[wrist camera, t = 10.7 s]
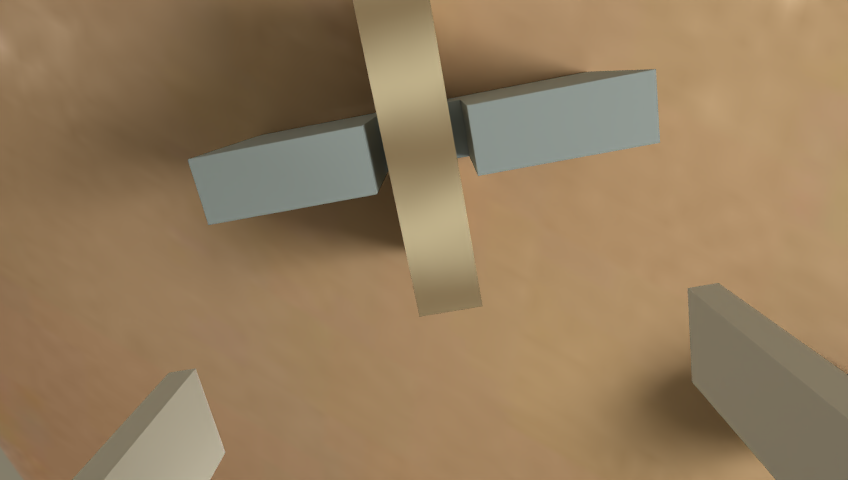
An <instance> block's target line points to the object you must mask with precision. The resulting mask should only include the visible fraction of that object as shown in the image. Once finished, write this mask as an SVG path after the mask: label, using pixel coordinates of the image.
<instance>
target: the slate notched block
mask: <svg viewBox="0 0 848 480" xmlns="http://www.w3.org/2000/svg"><path fill="white" fill-rule="evenodd" d="M447 103H448V109H449V115H450V121H451V126H452V132H453V138H454V144H455V150H456V155H457V158H461V157H467V156H470V159H471V161H472V163H473V165H474V167H475V170H476V172H477V174H478V176H480V175H485V174H491V173H496V172H502V171H507V170H513V169H518V168H524V167H529V166H535V165H540V164H546V163H551V162H557V161H562V160H568V159H573V158H578V157H584V156H589V155H595V154H600V153H606V152H611V151H617V150H622V149H628V148H633V147H639V146H644V145H650V144H655V143H660V135H659V117H658V99H657V81H656V69H649V70H622V71H596V72H584V73H578V74H573V75H568V76H563V77H558V78H553V79H548V80H542V81H537V82H532V83H527V84H522V85H517V86H511V87H506V88H501V89H496V90H491V91H486V92H481V93H475V94H470V95H465V96H460V97H455V98H450V99H447ZM188 162H189V165H190V168H191V172H192V175H193V178H194V181H195V184H196V187H197V190H198V193H199V197H200V200H201V203H202V206H203V209H204V212H205V215H206V218H207V221H208V225H211V224H217V223H222V222H228V221H233V220H239V219H244V218H250V217H255V216H261V215H266V214H272V213H277V212H283V211H288V210H294V209H299V208H305V207H310V206H316V205H321V204H326V203H332V202H337V201H343V200H348V199H354V198H359V197H365V196H370V195H376V194H377V193H378V191H379V189H380V187H381V185H382V183H383V181H384V179H385V177H386V175H387V172H388V171H389V170H388V165H387V161H386V156H385V151H384V147H383V142H382V137H381V132H380V128H379V123H378V118H377V114H376V113H372V114H367V115H362V116H357V117H352V118H346V119H341V120H336V121H331V122H326V123H321V124H316V125H310V126H305V127H300V128H295V129H290V130H285V131H279V132H274V133H269V134H264V135H260V136H256V137H253V138H250V139H247V140H244V141H241V142H238V143H235V144H232V145H229V146H226V147H223V148H220V149H217V150H214V151H211V152H208V153H205V154H202V155H199V156H196V157H193V158H190V159H188Z"/></svg>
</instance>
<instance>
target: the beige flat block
mask: <svg viewBox="0 0 848 480" xmlns="http://www.w3.org/2000/svg"><path fill="white" fill-rule="evenodd" d="M353 5H354V10H355V14H356V19H357V24H358V29H359V33H360V38H361V43H362V47H363V52H364V57H365V62H366V66H367V71H368V76H369V80H370V85H371V90H372V95H373V99H374V104H375V109H376V114H377V118H378V123H379V128H380V132H381V137H382V142H383V147H384V151H385V156H386V161H387V165H388V170H389V175H390V180H391V184H392V189H393V194H394V198H395V203H396V208H397V213H398V217H399V222H400V227H401V232H402V236H403V241H404V246H405V250H406V255H407V260H408V265H409V269H410V274H411V279H412V283H413V288H414V293H415V298H416V302H417V307H418V312H419V316H420V317H421V316H427V315H433V314H439V313H445V312H451V311H457V310H463V309H469V308H475V307H481V306H482V300H481V295H480V289H479V283H478V277H477V271H476V266H475V260H474V254H473V248H472V242H471V237H470V231H469V225H468V219H467V213H466V208H465V202H464V196H463V190H462V184H461V179H460V173H459V167H458V161H457V155H456V150H455V144H454V138H453V132H452V126H451V121H450V115H449V109H448V103H447V97H446V92H445V86H444V80H443V74H442V68H441V63H440V57H439V51H438V45H437V39H436V34H435V28H434V22H433V16H432V10H431V5H430V0H353Z"/></svg>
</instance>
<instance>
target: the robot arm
mask: <svg viewBox="0 0 848 480" xmlns="http://www.w3.org/2000/svg"><path fill="white" fill-rule="evenodd" d="M688 306H689V327H690V349H691V370H692V383H693V384H694V385H695V386H696V387H697V388H698V390H699V391H700V392H701V393H702V394H703V395H704V397H705V398H706V399H707V400H708V401H709V402H710V403H711V405H712V406H713V407H714V408H715V409H716V410H717V412H718V413H719V414H720V415H721V416H722V417H723V419H724V420H725V421H726V422H727V423H728V424H729V426H730V427H731V428H732V429H733V430H734V431H735V433H736V434H737V435H738V436H739V437H740V438H741V440H742V441H743V442H744V443H745V444H746V445H747V447H748V448H749V449H750V450H751V451H752V452H753V454H754V455H755V456H756V457H757V458H758V459H759V461H760V462H761V463H762V464H763V465H764V466H765V468H766V469H767V470H768V471H769V472H770V473H771V475H772V476H773V477H774V478H775V479H776V480H848V374H846V373H844V372H843V371H841V370H840V369H839V368H837V367H836V366H834V365H833V364H832V363H830V362H829V361H827V360H826V359H825V358H823V357H822V356H820V355H819V354H818V353H816V352H815V351H813V350H812V349H811V348H809V347H808V346H806V345H805V344H803V343H802V342H801V341H799V340H798V339H796V338H795V337H794V336H792V335H791V334H789V333H788V332H787V331H785V330H784V329H782V328H781V327H780V326H778V325H777V324H775V323H774V322H772V321H771V320H770V319H768V318H767V317H765V316H764V315H763V314H761V313H760V312H758V311H757V310H756V309H754V308H753V307H751V306H750V305H749V304H747V303H746V302H744V301H743V300H741V299H740V298H739V297H737V296H736V295H734V294H733V293H732V292H730V291H729V290H727V289H726V288H725V287H723V286H722V285H720V284H719V283H716V284H710V285H704V286H698V287H692V288H688ZM224 454H225V450H224V447H223V445H222V442H221V439H220V436H219V433H218V430H217V428H216V425H215V422H214V419H213V416H212V414H211V411H210V408H209V405H208V402H207V399H206V397H205V394H204V391H203V388H202V385H201V382H200V380H199V377H198V374H197V371H196V369H190V370H183V371H177V372H171V373H168V374H167V375H166V377H165V378H164V379H163V380H162V381H161V382H160V383H159V384H158V385H157V386H156V388H155V389H154V390H153V391H152V392H151V393H150V394H149V395H148V396H147V398H146V399H145V400H144V401H143V402H142V403H141V404H140V405H139V406H138V407H137V409H136V410H135V411H134V412H133V413H132V414H131V415H130V416H129V417H128V419H127V420H126V421H125V422H124V423H123V424H122V425H121V426H120V427H119V428H118V430H117V431H116V432H115V433H114V434H113V435H112V436H111V437H110V438H109V440H108V441H107V442H106V443H105V444H104V445H103V446H102V447H101V448H100V449H99V451H98V452H97V453H96V454H95V455H94V456H93V457H92V458H91V459H90V461H89V462H88V463H87V464H86V465H85V466H84V467H83V468H82V469H81V470H80V472H79V473H78V474H77V475H76V476H75V477H74V478H73V479H72V480H210V479H211V477H212V475H213V474H214V472H215V470H216V468H217V466H218V465H219V463H220V461H221V459H222V457H223V456H224Z"/></svg>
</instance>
